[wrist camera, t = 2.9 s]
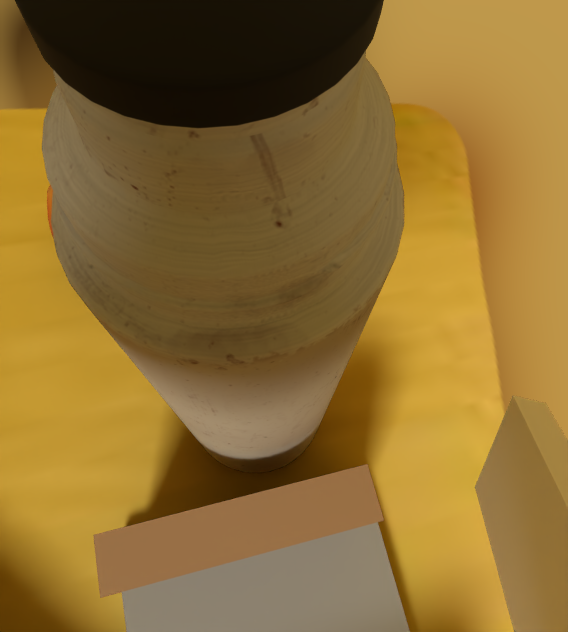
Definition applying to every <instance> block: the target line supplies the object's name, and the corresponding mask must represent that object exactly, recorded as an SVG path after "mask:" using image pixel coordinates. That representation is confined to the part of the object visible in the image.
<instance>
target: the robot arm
mask: <svg viewBox="0 0 568 632" xmlns="http://www.w3.org/2000/svg"><path fill="white" fill-rule="evenodd" d="M475 489H476V493H477V496H478V500H479V504H480V507H481V511H482V515H483V518H484V522H485V526H486V529H487V533H488V537H489V540H490V544H491V548H492V551H493V555H494V559H495V562H496V566H497V570H498V573H499V577H500V581H501V585H502V588H503V592H504V596H505V599H506V603H507V607H508V610H509V614H510V618H511V621H512V625H513V629H514V632H568V440H567V438H566V437H565V435H564V433H563V432H562V430H561V428H560V427H559V425H558V423H557V421H556V419H555V418H554V416H553V414H552V413H551V411H550V409H549V407H548V406H547V404H546V403H544V402H539V401H535V400H531V399H526V398H522V397H518V396H512V399H511V401H510V403H509V406H508V409H507V411H506V413H505V416H504V418H503V420H502V423H501V425H500V428H499V430H498V432H497V435H496V437H495V440H494V442H493V445H492V447H491V449H490V452H489V454H488V457H487V459H486V462H485V464H484V466H483V469H482V471H481V474H480V476H479V478H478V481H477V483H476V486H475Z"/></svg>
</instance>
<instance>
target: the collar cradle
mask: <svg viewBox="0 0 568 632" xmlns="http://www.w3.org/2000/svg"><path fill="white" fill-rule="evenodd" d="M380 521H384V518H383V515H382V511H381V508H380V505H379V501H378V498H377V495H376V491H375V488H374V484H373V481H372V478H371V474H370V471H369V468H368V464H366V465H362V466H358V467H354V468H350V469H346V470H343V471H339V472H335V473H331V474H327V475H323V476H319V477H316V478H312V479H308V480H304V481H300V482H296V483H292V484H289V485H285V486H281V487H277V488H273V489H269V490H265V491H262V492H258V493H254V494H250V495H246V496H242V497H238V498H235V499H231V500H227V501H223V502H219V503H215V504H211V505H208V506H204V507H200V508H196V509H192V510H188V511H184V512H181V513H177V514H173V515H169V516H165V517H161V518H157V519H154V520H150V521H146V522H142V523H138V524H134V525H130V526H127V527H123V528H119V529H115V530H111V531H107V532H103V533H99V534H96V535H94V544H95V553H96V562H97V572H98V581H99V590H100V598H101V597H105V596H109V595H112V594H116V593H120V592H122V598H123V606H124V614H125V622H126V631H127V632H410V631H409V627H408V624H407V620H406V617H405V613H404V610H403V607H402V603H401V600H400V596H399V593H398V590H397V586H396V583H395V579H394V576H393V572H392V569H391V566H390V562H389V559H388V555H387V552H386V549H385V545H384V542H383V538H382V535H381V531H380V528H379V525H378V522H380Z"/></svg>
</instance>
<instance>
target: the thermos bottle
mask: <svg viewBox="0 0 568 632" xmlns="http://www.w3.org/2000/svg"><path fill="white" fill-rule="evenodd" d="M15 1H16V4H17V6H18V8H19V10H20V12H21V14H22V16H23V18H24V20H25V22H26V24H27V26H28V28H29V30H30V32H31V34H32V36H33V38H34V40H35V42H36V44H37V46H38V48H39V50H40V51H41V54H42V56H43V58H44V59H45V61H46V62H47V63H48V64H49V65H50V66H51V67H52V69H53V72H54V76H55V81H56V83H57V87H56V88H55V90H54V92H53V94H52V97H51V100H50V103H49V106H48V109H47V112H46V116H45V119H44V127H43V141H42V151H43V157H44V162H45V167H46V173H47V178H48V180H49V182H50V185H51V187H52V189H53V196H52V212H51V225H52V231H53V236H54V242H55V247H56V253H57V255H58V258H59V260H60V262H61V264H62V267H63V269H64V271H65V273H66V276H67V278H68V280H69V282H70V284H71V286H72V287H73V288H74V290H75V291H76V292H77V294H78V295H79V296H80V297H81V299H82V300H83V301H84V303H85V304H86V305H87V307H88V308H89V309H90V310H91V312H92V313H93V314H94V315H95V317H96V318H97V319H98V320H99V322H100V323H101V324H102V325H103V326H104V328H105V329H106V330H107V331H108V332H109V334H110V335H111V336H112V337H113V338H114V340H115V341H116V342H117V343H118V344H119V346H120V347H121V348H122V349H123V350H124V352H125V353H126V354H127V355H128V356H129V358H130V359H131V360H132V361H133V362H134V364H135V365H136V366H137V367H138V369H139V370H140V371H141V372H142V373H143V375H144V376H145V377H146V378H147V379H148V381H149V382H150V383H151V384H152V386H153V387H154V388H155V389H156V390H157V392H158V393H159V394H160V395H161V396H162V398H163V399H164V400H165V401H166V402H167V404H168V405H169V406H170V407H171V408H172V410H173V411H174V412H175V413H176V415H177V416H178V417H179V418H180V419H181V421H182V422H183V423H184V424H185V425H186V427H187V428H188V429H189V430H190V431H191V433H192V434H193V435H194V436H195V437H196V439H197V440H198V441H199V442H200V444H201V445H202V446H203V447H204V448H205V450H206V451H207V452H208V453H209V454H210V455H211V456H213V457H214V458H215V459H216V460H217V461H218V462H220V463H222V464H224V465H226V466H228V467H229V468H232V469H236V470H239V471H242V472H252V473H259V472H268V471H272V470H275V469H278V468H281V467H283V466H285V465H287V464H288V463H290V462H292V461H294V460H295V459H296V458H297V457H298V456H299V455H301V454H302V453H303V452H304V451H305V449H306V448H307V447H308V445H309V444H310V443H311V442H312V440H313V438H314V436H315V434H316V432H317V429H318V427H319V425H320V423H321V421H322V418H323V416H324V414H325V412H326V410H327V407H328V405H329V403H330V401H331V399H332V396H333V394H334V392H335V390H336V388H337V386H338V383H339V381H340V379H341V377H342V375H343V372H344V370H345V368H346V366H347V364H348V361H349V359H350V357H351V355H352V353H353V350H354V348H355V346H356V344H357V342H358V339H359V337H360V335H361V333H362V331H363V328H364V326H365V324H366V322H367V320H368V317H369V315H370V313H371V311H372V309H373V306H374V304H375V302H376V300H377V298H378V295H379V293H380V291H381V289H382V287H383V284H384V282H385V280H386V278H387V276H388V273H389V271H390V269H391V267H392V265H393V262H394V260H395V258H396V255H397V252H398V248H399V243H400V239H401V235H402V231H403V227H404V190H403V186H402V182H401V177H400V173H399V169H398V165H397V143H396V139H395V120H394V116H393V112H392V107H391V103H390V99H389V96H388V94H387V91H386V89H385V87H384V85H383V84H382V81H381V79H380V78H379V75H378V73H377V71H376V70H375V69H374V67H373V66H372V65H371V64H370V63H369V61H368V60H367V59H366V57H365V54H366V49H367V47H368V46H369V44H370V43H371V41H372V39H373V37H374V34H375V30H376V27H377V24H378V21H379V18H380V14H381V10H382V6H383V1H384V0H15Z"/></svg>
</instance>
